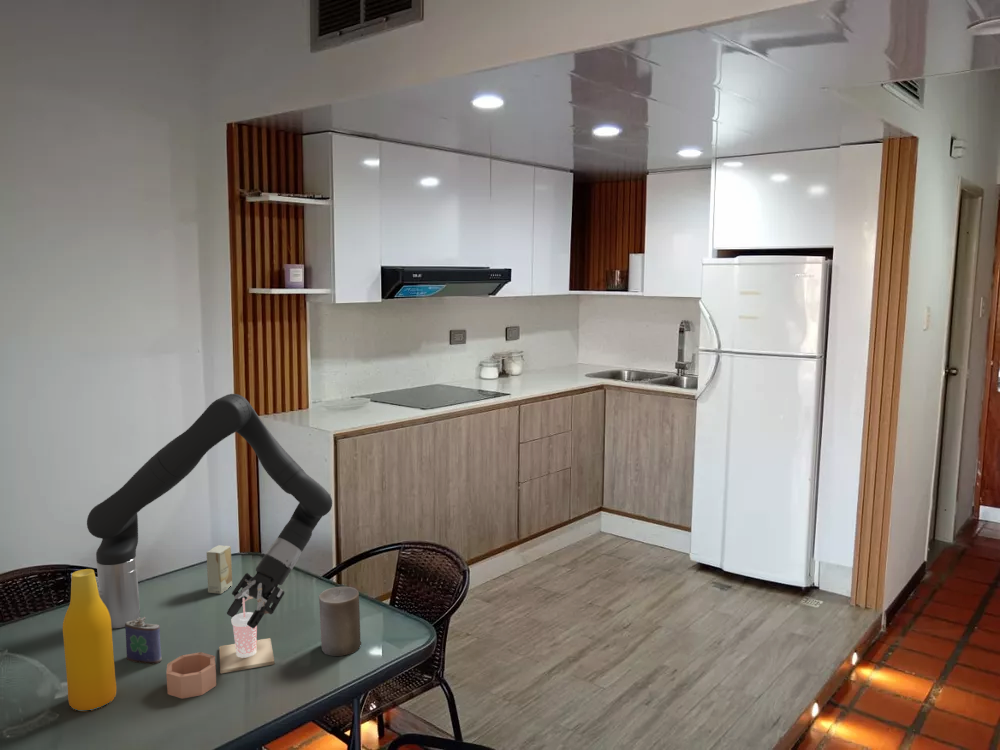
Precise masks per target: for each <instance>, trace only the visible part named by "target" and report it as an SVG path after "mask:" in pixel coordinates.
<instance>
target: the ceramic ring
mask: <svg viewBox="0 0 1000 750" xmlns="http://www.w3.org/2000/svg"><path fill="white" fill-rule="evenodd" d="M216 669H217V667H216V656H215V655H212V654H209V653H206V652H202V651H200V652H194V653H188V654H183V655H180V656H178V657H177V658H175V659H173V660H172V661H171V660H170V662H168V663H167V665H166V672H165V673H166V688H167V690H166V691H167V695H169V696H173V697H176V698H178V699H188V698H193V697H197V696H198V697H199V696H202V695H204V694H206V693H207V692H208V691H210V690H212V689H214V687H217V671H216Z"/></svg>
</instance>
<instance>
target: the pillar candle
mask: <svg viewBox="0 0 1000 750" xmlns="http://www.w3.org/2000/svg"><path fill="white" fill-rule="evenodd" d="M318 600H319V619H320V621H319V623H320V642H321V650H322V652H323V653H324V654H325V655H328V656H332V657H341V656H347V655H351V654H353V653H355V651H356V650H357V651H358V648H359V647H360V645H361V646H362V642H361V641H362V640H361V619H360V618H361V615H360V614H361V613H360V612H361V611H360V593H359V590H357V588H355V587H351V586H335V587H331V588H326V589H325V590H323V591H322V592H320V593H319V596H318ZM360 648H361V647H360ZM360 648H359V649H360ZM357 651H356V652H357Z"/></svg>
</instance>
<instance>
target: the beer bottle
mask: <svg viewBox="0 0 1000 750" xmlns="http://www.w3.org/2000/svg"><path fill="white" fill-rule="evenodd" d="M97 583H98V582H97V577H96V574H95V570H94V569H92V568H86V569H83V568H82V569H79V570H76V571H73V572H72V573H71V583H70V585H71V586H70V601H69V605H68V608H67V610H66V612H65V615H64V617H63V620H62V636H63V648H64V649H63V650H64V658H65V659H64V660H65V661H64V662H65V669H66V670H65V673H66V682H67V685H66V686H67V699H68V704H69V707H70V706H71V707H72V708H74V709H77V710H90V709H94V708H97V707H101V706H103V705H105V704H107V703H109V702H110V701H111V702H112V701H113V700H114V699H115V698H116V695H117V681H116V667H115V658H114V657H115V656H114V645H113V644H114V643H113V641H114V640H113V628H112V627H111V617H110V614H109V611H108V609H107V607H106V606H105V604H104V603H103V601H102V600H101V598H100V596H99V592H98V591H99V586H98V584H97ZM114 697H115V698H114ZM111 702H110V703H111ZM110 703H109V704H110ZM107 705H108V704H107ZM71 707H70V708H71ZM72 708H71V709H72ZM101 708H102V707H101ZM74 709H73V710H74Z"/></svg>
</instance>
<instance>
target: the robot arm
mask: <svg viewBox="0 0 1000 750" xmlns="http://www.w3.org/2000/svg"><path fill="white" fill-rule="evenodd" d="M234 433H237V434H238V435H239V436H241V437H242V438H243V439H244V440H245V441H246V442H247V443H248V445H250V447H251V448H252V451H254V453H255V454H256V456H257V458H258V461H259V462H260V464H261V466H262V468H263V470H264V471H265V472H266V473H267V475H268V476H269V477H270V478H271V479H272V480H273V481H274V483H276V485H277V486H279V488H281V490H282V491H284V492H285V493H286V494H289V495H291V496H292V497H293V498H294V499H295V500H296V501H297V502H298V504H297V506H296V508H294V511H293V513H292V515H291V517H290V519H289V521H288V522H287V523H286V524H285V525H284V527H283V529H282V530H281V531H280V533H279V534H278V536H277V538H276V539H275V540H274V541H273V542H272V543H271V545H270V547H269V548H268V549H267V550H266V552H265V553H264V555H263V557H262V559H261V560H260V561H259V563H258V565H257V566H256V568H255V571H256V574H254V576H253V575H251V574H250V573H248V572H246V573H245V574H244V575H243V577H242V578H241V579H240V581H239V582H238V583H237V585H236V586H235V588H234V589H233V590H232V591H231V592H232V593H231V594H232V596H233V597H234V600H233V601H232V603H231V605H230V606H229V607H228V609H227V612H226V615H228V616H229V617H231V618H232V617H233V616H235V615H237V614H239V611H240V610H241V608H243V598H245V602H247V601H248V600H253V599H255V600H256V601H257V607H256V609H255V610H254V611H253V615H252V616H251V618H250V619H249V621H248V622H247V625H248V626H250V627H251V628H255V627H256V626H257V627H258V625H259V623H260V622H261V620H262V619H263V617H264V616H265V615H267V614H269V615H272V614H273V613H274V612H275V610H276V608H277V607H278V605H279V604H280V602H281V600H282V598H283V597H284V595H285V590H283V589H282V588H280V587H279V586H282V585H283V584H284V582H285V581H286V579H287V578H288V576H289V574H291V571H292V570H293V568H295V565H296V564H297V563H298V560H299V558H300V556H301V554H302V553H303V550H304V549H305V548H306V546H307V544H308V543H309V541H310V539H311V537H312V535H313V531H314V530H315V528H316V526H317V525H318V523H319V522H320V521H321V519H322V518H323V517H324V516H326V515H328V513H330V511H331V510H332V507H333V499H332V497H331V494H330V493H329V492H328V491H327V489H325V487H323V486H322V485H321V484H320V483H319V482H317V481H316V480H315V479H314V478H313V477H311V476H310V475H308V474H307V473H306V472H305V471H304V469H303V468H302V467H301V466H300V465H299V464H298V462H296V460H295V459H293V457H292V456H291V455H290V454H289V453H288V452H287V451H286V450H285V449H284V448H283V446H282V445H281V444H280V443H279V442H278V441H277V439H276V438H275V437H274V435H272V433H271V432H270V430H269V429H268V428H267V426H266V425H265V424H264V422H263V421H262V420H261V418H260V416H259V415H258V414H257V412H256V410H255V409H254V408H253V406H252V405H251V403H250V402H249V401H248V400H247V398H246V397H244V396H243V395H240V394H239V393H229V394H226V395H223V396H221V397H220V398H216V400H214V401H213V402H211V404H209V406H207V408H205V410H204V411H203V412H202V414H201V415H200V416H199V417H198V418H197V419H196V420H195V421H194V422H193V424H192V425H190V427H189V428H187V429H186V430H185V431H183V432H182V433H181V434H179V435H178V436H176V437H175V438H173V439H172V440H170V442H168V443H167V444H166V445H164V446H163V447H162V448H160V449H159V450H158V451H157V452H156V453H155V454H154V455H153V456H151V457H150V458H149V459H148V461H146V463H144V464H143V465H142V466H141V467H140V468H139V469H138V470H137V471H136V472H135V473H134V474H132V476H131V477H130V478H129V479H128V480H127V482H125V483H124V485H122V486H121V487H120V488H119V489H118V490H117V491H116V492H114V493H112V494H111V495H110V496H109V497H107V498H106V499H104V500H103V501H102V502H100V503H98V504H97V505H95V506H94V507H93V508H92V509H91V510H90V512H89V513H88V515H87V519H86V526H87V527H86V528H87V530H88V532H89V533H90V534H91V535H92V536H93V537H96V538H99V539H101V542H100V544H99V546H98V548H97V550H96V554H95V558H96V569H97V570H96V571H97V581H98V582H97V583H98V584H97V586H98V592H99V596H100V598H101V600H102V601H103V603H104V604H105V606H106V607H107V609H108V611H109V614H110V617H111V627H112V629H120V628H121V629H122V628H125V624H126V622H128V621H133V620H135V621H137V620H136V619H138V618H141V609H140V593H139V582H138V580H139V579H138V567H137V546H138V544H139V543H138V542H139V523H138V522H139V520H138V519H139V518H138V513H139V512H140V511H141V510H142V509H143V508H145V507H147V506H148V505H149V504H151V503H152V502H154V501H156V500H158V499H159V498H160V497H162V496H163V495H164V494H166V493H168V492H169V491H171V490H172V489H173V488H174V487H176V486H177V485H178V484H179V483H180V482H181V481H183V480H184V479H185V478H186V477H187V476H188V475H189V474H190V473H192V471H193V470H194V469H195V468H196V467H197V466H198V464H199V463H200V461H201V460H202V459H203V458H204V456H205V455H206V454H207V453H208V451H210V450H211V449H213V448H214V447H215V446H216V445H218V444H219V443H220V442H221V441H223V440H225V439H226V438H228V437H229V436H230V435H233V434H234Z"/></svg>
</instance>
